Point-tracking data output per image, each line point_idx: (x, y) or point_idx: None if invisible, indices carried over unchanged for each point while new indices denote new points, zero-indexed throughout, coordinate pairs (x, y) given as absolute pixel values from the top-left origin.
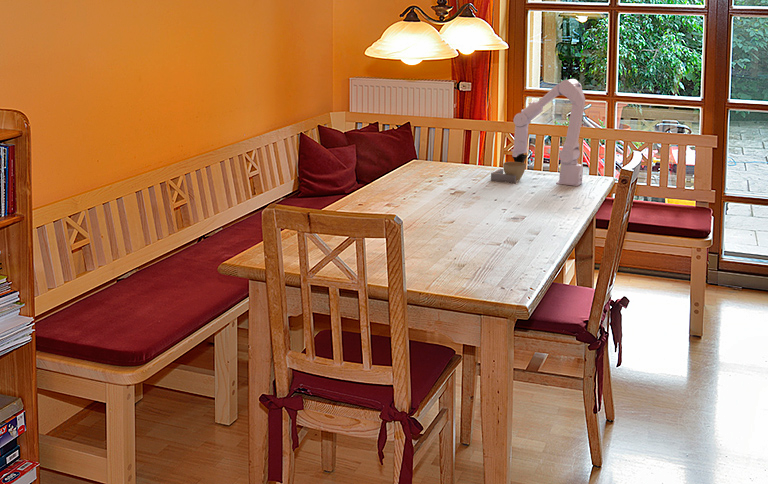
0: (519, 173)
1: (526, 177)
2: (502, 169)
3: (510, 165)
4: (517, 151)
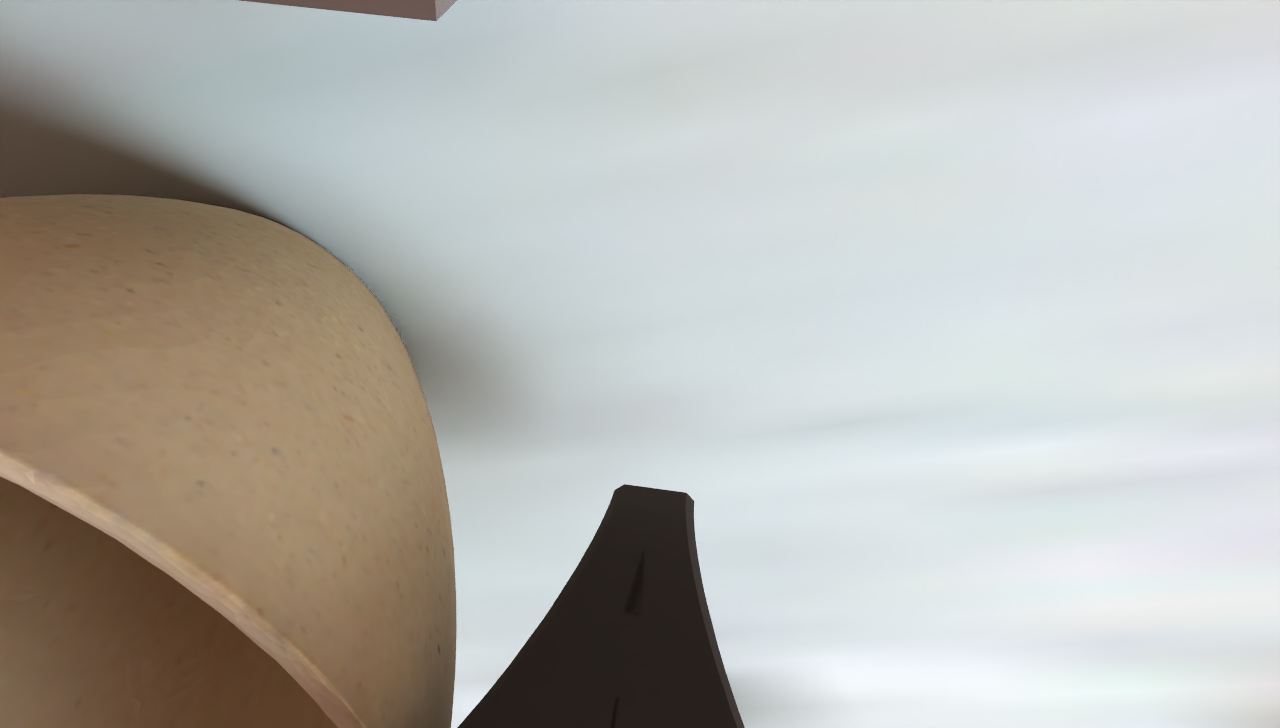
0: (2, 659)
1: (787, 560)
2: (303, 6)
3: (280, 482)
4: None
